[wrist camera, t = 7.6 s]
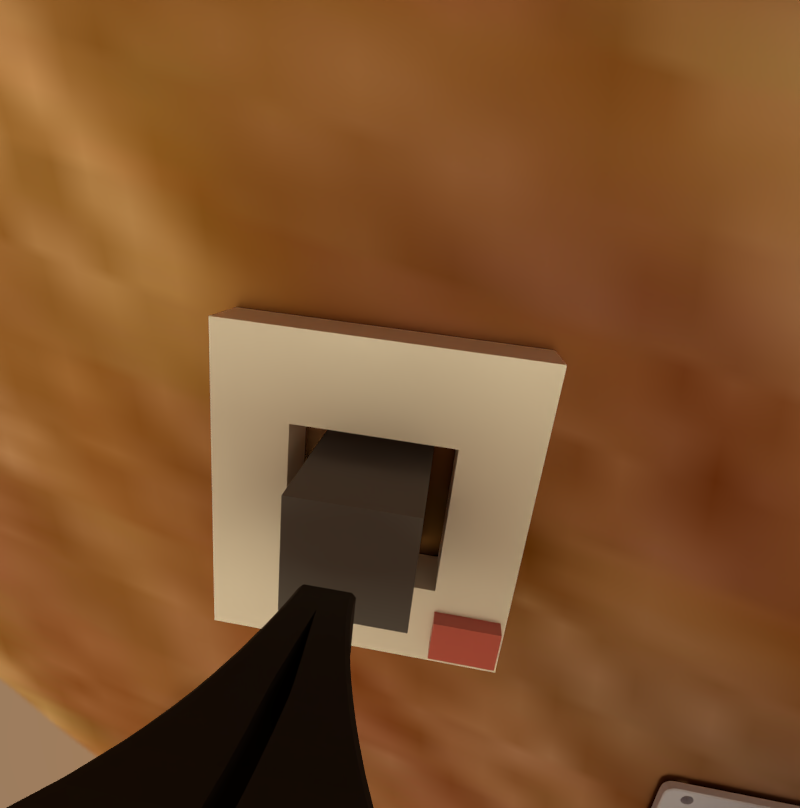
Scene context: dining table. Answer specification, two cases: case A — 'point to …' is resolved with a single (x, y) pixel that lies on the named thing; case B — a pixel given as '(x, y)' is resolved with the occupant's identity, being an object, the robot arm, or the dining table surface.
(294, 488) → the plug
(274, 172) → the dining table surface
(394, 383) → the socket plate
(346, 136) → the dining table surface
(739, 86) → the dining table surface
